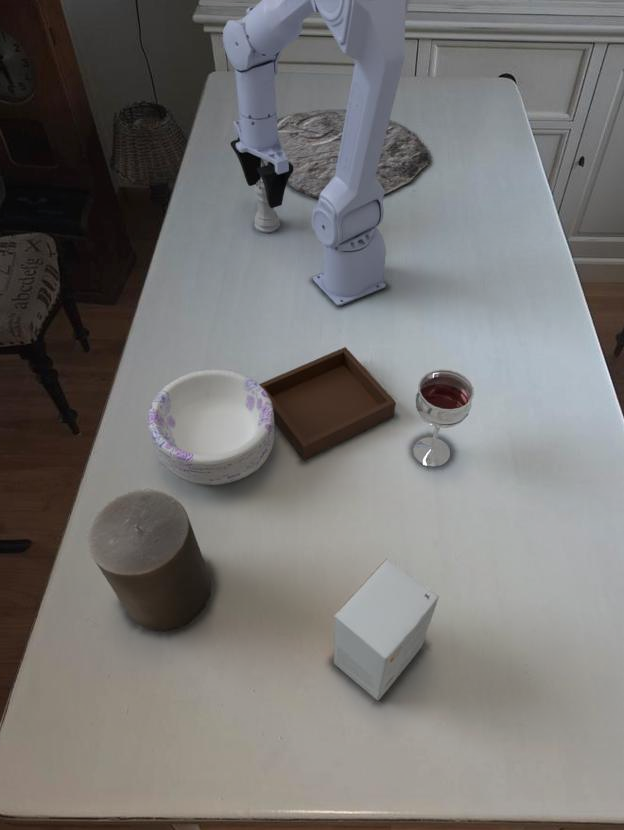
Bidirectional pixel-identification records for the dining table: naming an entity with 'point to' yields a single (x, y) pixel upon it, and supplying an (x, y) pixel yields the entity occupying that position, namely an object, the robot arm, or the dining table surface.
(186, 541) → the pillar candle
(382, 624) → the small box
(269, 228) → the rook chess piece
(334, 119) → the worn metal disc
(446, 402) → the wineglass
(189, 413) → the paper bowls
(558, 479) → the dining table surface
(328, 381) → the tray
